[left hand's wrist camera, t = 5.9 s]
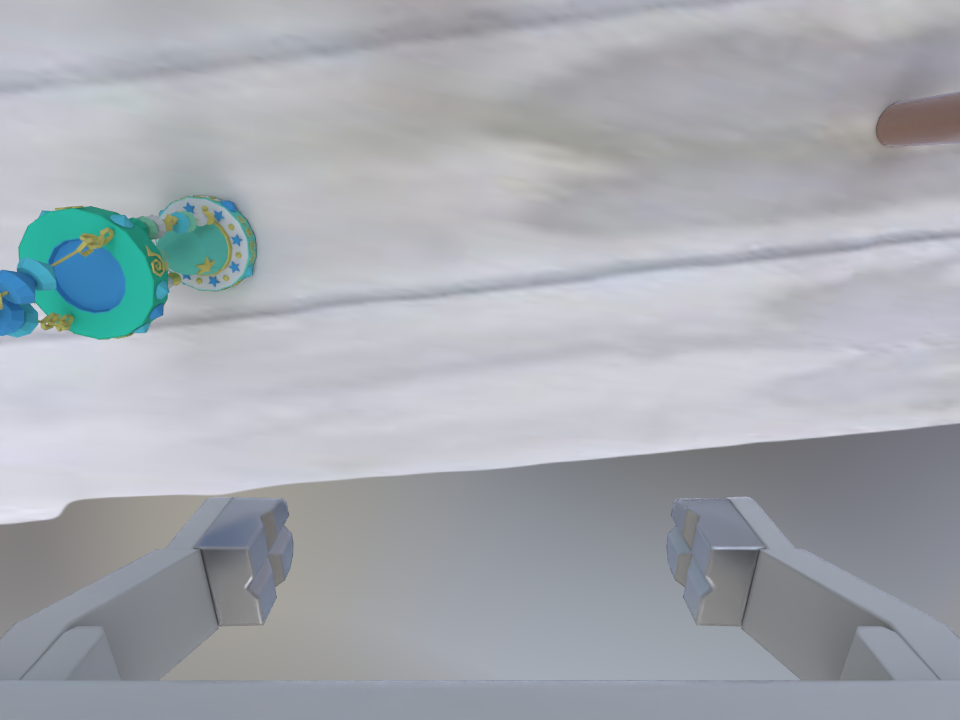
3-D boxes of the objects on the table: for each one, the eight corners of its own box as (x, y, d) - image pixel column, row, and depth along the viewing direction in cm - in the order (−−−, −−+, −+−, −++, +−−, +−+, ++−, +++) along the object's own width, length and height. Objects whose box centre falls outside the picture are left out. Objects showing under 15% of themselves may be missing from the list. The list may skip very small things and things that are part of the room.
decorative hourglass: (232, 310, 58) (4, 440, 30) (143, 253, 56) (-194, 335, 28) (279, 232, 55) (73, 297, 27) (187, 168, 53) (-142, 166, 25)
